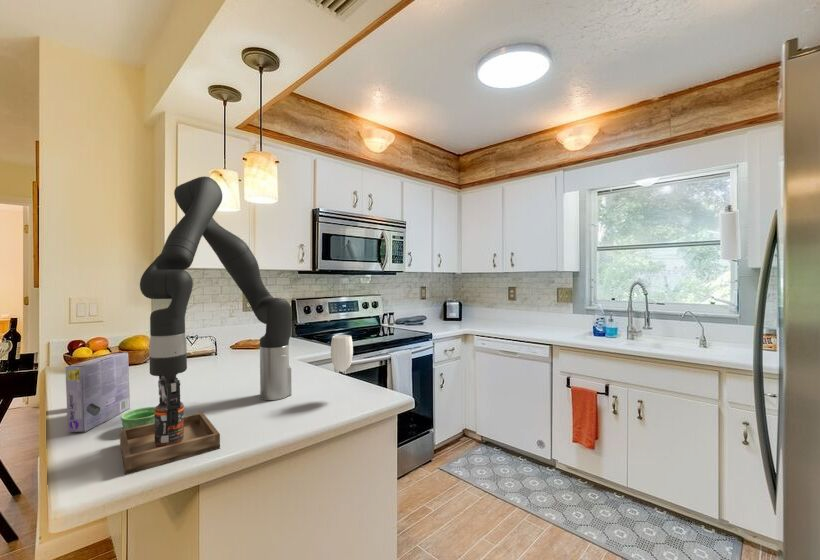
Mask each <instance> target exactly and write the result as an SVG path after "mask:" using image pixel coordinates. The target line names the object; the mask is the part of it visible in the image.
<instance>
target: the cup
mask: <svg viewBox="0 0 820 560" xmlns="http://www.w3.org/2000/svg"><path fill="white" fill-rule="evenodd" d="M330 342H331V344H330V357H331V363H332V365H333V367H334V369H336V370H337V371H338V372H341V373H343V372H346V371H347V370H348V368H350V367H351V364H352V361H353V355H354V346H353V345H354V343H353V338H352V335H349V334H336V335H333V336H332V337H331V341H330Z"/></svg>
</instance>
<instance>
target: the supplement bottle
mask: <svg viewBox="0 0 820 560" xmlns="http://www.w3.org/2000/svg"><path fill="white" fill-rule="evenodd" d="M158 400H159V403H158V405H156V406H155V407H156V408H155V444H156V445H157V446H162V447H163V446H167V445H171V444H175V443H179V442H180V441H182V440H183V438H184V416H185V415H184V414H185V411H184V410H185V408H184V407H185V406H184V403H183V402H182V401H180V404H181V406H180V408H179V409H178V424H177V425H174V426H170V427H168V426H167V411H166V404H165V402H163V400H162V396H159V399H158ZM170 404H175V400H172V401H170Z"/></svg>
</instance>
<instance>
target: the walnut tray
mask: <svg viewBox="0 0 820 560" xmlns="http://www.w3.org/2000/svg"><path fill="white" fill-rule="evenodd" d="M119 443H120V444H119V446H120V450H121V456H122V457H121V458H122V464H123V468H124V469H123V470H124V474H125V476H126V475H129V474H133V473H137V472H140V471H143V470H144V471H145V470H147V469H151V468H152V469H153V468H154V467H159V466H161V465H166V464H170V463H173V462H176V461H180V460H183V459H188V458H191V457H194V456H198V455H201V454H204V453H208V452H213V451H216V450H220V449H221V433H220V432H219V431H218V430H217V428H216V427H215V425H213V423H212V422H211V421H210V419H209V418H208V416H206V415H205V414H204V412H198V413H194V414H189V415H184V438H183V440H182V441H180V442H179V443H175V444H171V445H167V446H163V447H162V446H157V445H156V444H155V423H151V424H146V425H142V426H137V427H132V428H128V429H123V428H122V429H120V430H119Z"/></svg>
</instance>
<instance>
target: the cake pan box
mask: <svg viewBox="0 0 820 560" xmlns="http://www.w3.org/2000/svg"><path fill="white" fill-rule="evenodd" d="M129 367H130V366H129V352H119V353H118V352H117V353H111V354H108V355H105V356H101V357H97V358H93V359H89V360H85V361H82V362H79V363H78V362H77V363H75V364H71V365H67V366H65V387H66V388H65V391H66V392H65V394H66V419H67V420H66V421H67V433H87V432H89V431H90V430H91V429H94V428H95V427H97V426H99V425H101V424H103V423H106V422H107V421H109V420H112V419H113V418H114V419H115V417H116V416H118V415H120V414H122V413H125V412H126V411H128V410H130V409H131V408H130V406H131V405H130V404H131V401H130V398H131V395H130V394H131V393H130V371H129V370H130V369H129Z"/></svg>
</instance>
